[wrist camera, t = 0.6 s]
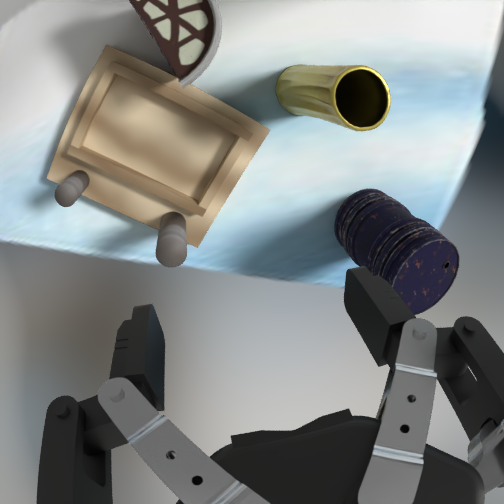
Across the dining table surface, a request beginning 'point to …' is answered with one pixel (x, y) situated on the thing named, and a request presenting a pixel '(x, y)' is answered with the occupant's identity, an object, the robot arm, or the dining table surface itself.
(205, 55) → the half lattice cake
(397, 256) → the storage jar
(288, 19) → the dining table surface
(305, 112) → the vase
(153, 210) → the carrier board
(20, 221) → the dining table surface
